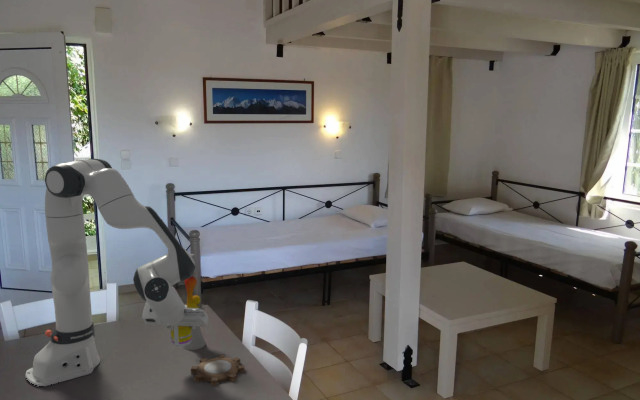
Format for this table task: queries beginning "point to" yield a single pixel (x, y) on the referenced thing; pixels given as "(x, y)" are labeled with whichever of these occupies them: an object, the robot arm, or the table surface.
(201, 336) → the lava lamp
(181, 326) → the supplement bottle
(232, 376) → the gear platform
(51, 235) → the robot arm
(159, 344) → the table surface
